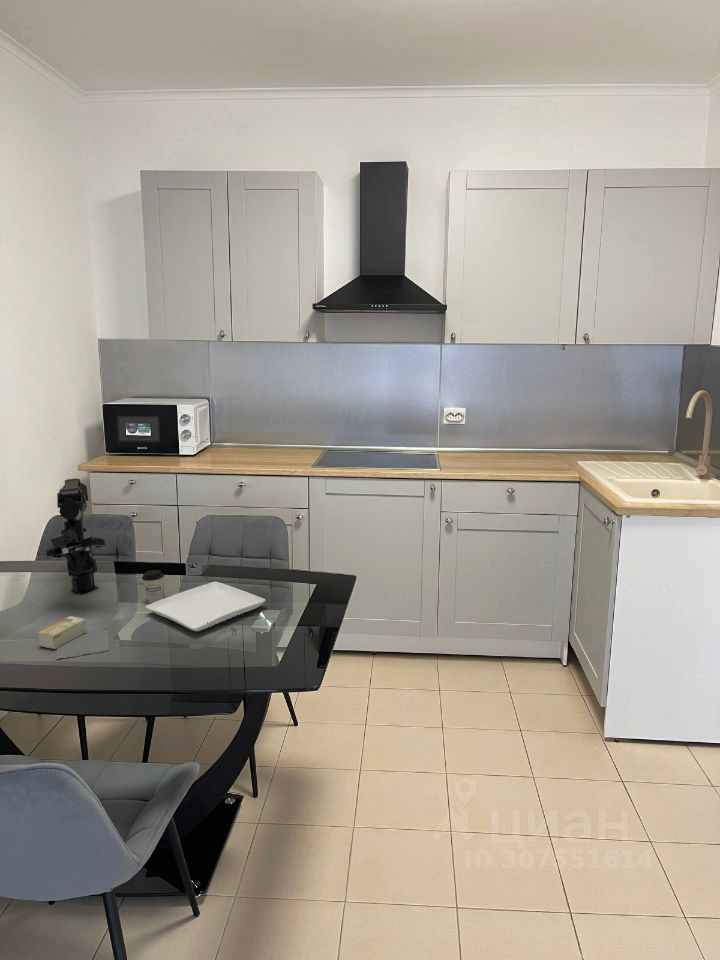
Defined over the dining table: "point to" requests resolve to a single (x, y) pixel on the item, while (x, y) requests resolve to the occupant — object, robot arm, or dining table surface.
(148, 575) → the coffee cup
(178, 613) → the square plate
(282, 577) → the dining table surface
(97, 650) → the mat
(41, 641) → the skincare box
